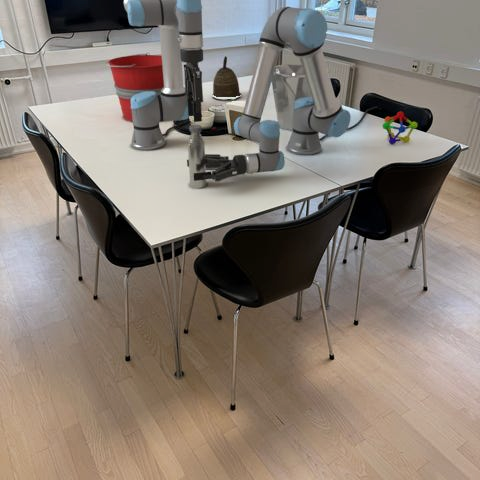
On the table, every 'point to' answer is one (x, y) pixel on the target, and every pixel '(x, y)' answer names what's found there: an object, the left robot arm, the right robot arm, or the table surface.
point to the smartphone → (211, 165)
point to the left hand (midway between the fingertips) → (194, 118)
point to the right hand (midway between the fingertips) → (190, 169)
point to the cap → (195, 128)
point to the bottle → (196, 159)
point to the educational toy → (398, 128)
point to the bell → (225, 82)
